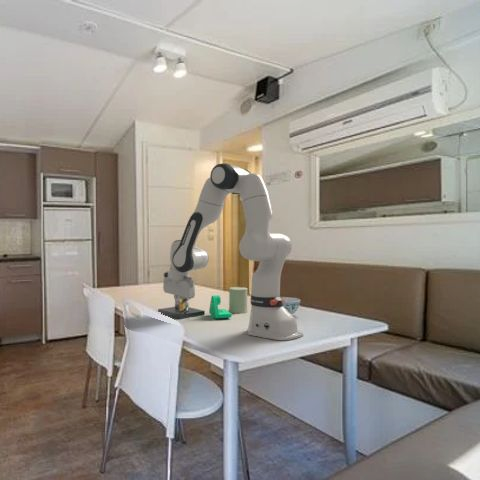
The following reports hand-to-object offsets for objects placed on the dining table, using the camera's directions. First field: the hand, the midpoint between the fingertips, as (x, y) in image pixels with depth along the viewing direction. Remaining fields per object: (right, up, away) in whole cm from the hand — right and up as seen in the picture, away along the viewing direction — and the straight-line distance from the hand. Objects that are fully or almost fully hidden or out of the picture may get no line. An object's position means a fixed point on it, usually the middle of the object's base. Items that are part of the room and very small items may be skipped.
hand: (178, 305), depth 189 cm
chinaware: (+49, -6, +5) cm, 50 cm away
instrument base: (0, -5, +7) cm, 9 cm away
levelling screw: (+2, -3, +2) cm, 4 cm away
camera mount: (+19, -6, +1) cm, 20 cm away
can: (+27, -6, +15) cm, 32 cm away
